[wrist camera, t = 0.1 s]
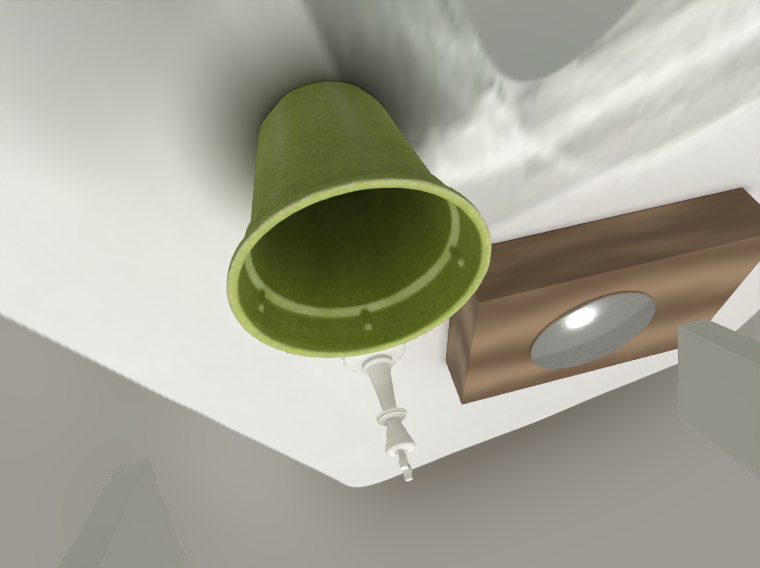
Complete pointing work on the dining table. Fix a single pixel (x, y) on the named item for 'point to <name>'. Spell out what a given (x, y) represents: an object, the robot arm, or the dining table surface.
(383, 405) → the chess piece
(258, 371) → the dining table surface
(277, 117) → the plant pot
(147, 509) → the robot arm
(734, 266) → the walnut base
